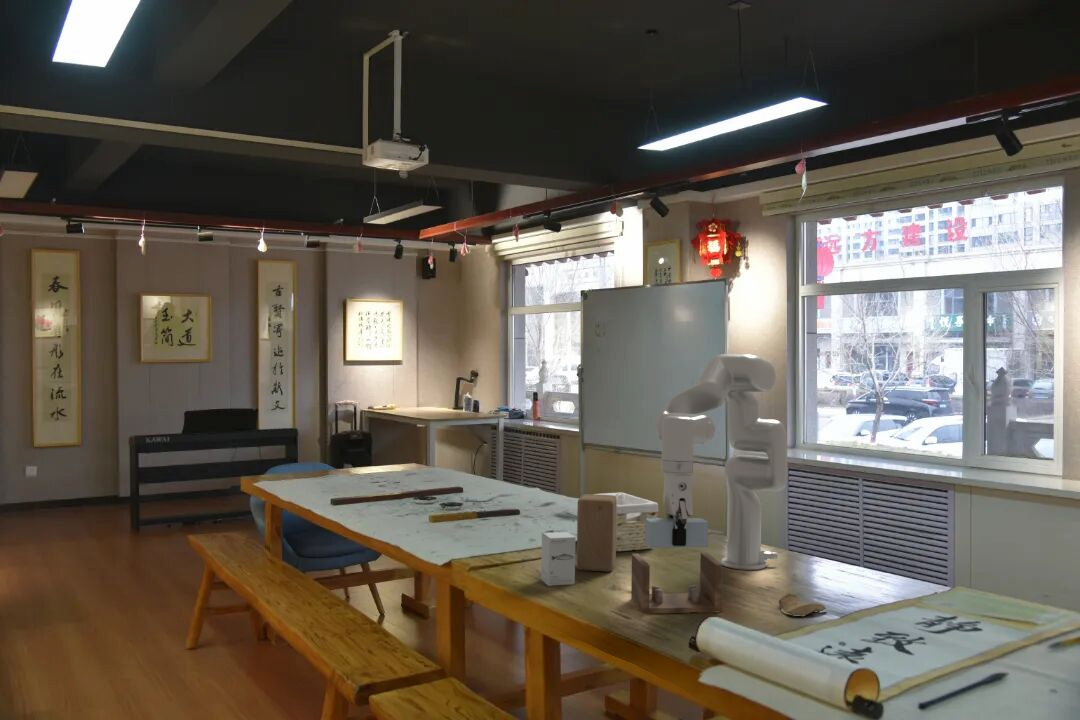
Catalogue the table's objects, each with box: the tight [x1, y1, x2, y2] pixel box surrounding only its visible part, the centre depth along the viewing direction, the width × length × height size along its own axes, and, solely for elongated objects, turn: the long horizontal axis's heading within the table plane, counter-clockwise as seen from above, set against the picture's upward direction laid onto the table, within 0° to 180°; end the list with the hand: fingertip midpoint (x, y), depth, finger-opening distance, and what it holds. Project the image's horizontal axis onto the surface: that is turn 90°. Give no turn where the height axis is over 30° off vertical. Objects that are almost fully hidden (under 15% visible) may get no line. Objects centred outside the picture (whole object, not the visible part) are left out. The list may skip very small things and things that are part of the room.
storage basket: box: [595, 491, 659, 552], centre depth 276 cm, size 24×16×15 cm
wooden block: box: [576, 493, 617, 573], centre depth 245 cm, size 10×10×20 cm
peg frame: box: [630, 552, 723, 614], centre depth 209 cm, size 19×12×11 cm, turn 96°
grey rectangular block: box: [645, 517, 709, 549], centre depth 208 cm, size 14×5×6 cm, turn 96°
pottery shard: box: [778, 593, 827, 616], centre depth 206 cm, size 11×4×10 cm
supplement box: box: [540, 531, 576, 587], centre depth 229 cm, size 7×7×13 cm
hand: (675, 542), depth 208 cm, fingers closed on grey rectangular block, 5 cm apart
